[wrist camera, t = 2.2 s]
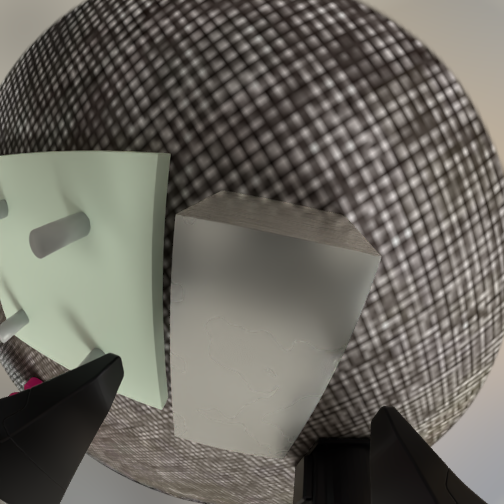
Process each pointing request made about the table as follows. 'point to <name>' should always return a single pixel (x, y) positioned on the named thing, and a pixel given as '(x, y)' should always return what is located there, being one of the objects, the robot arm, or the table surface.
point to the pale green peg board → (87, 260)
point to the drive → (260, 317)
